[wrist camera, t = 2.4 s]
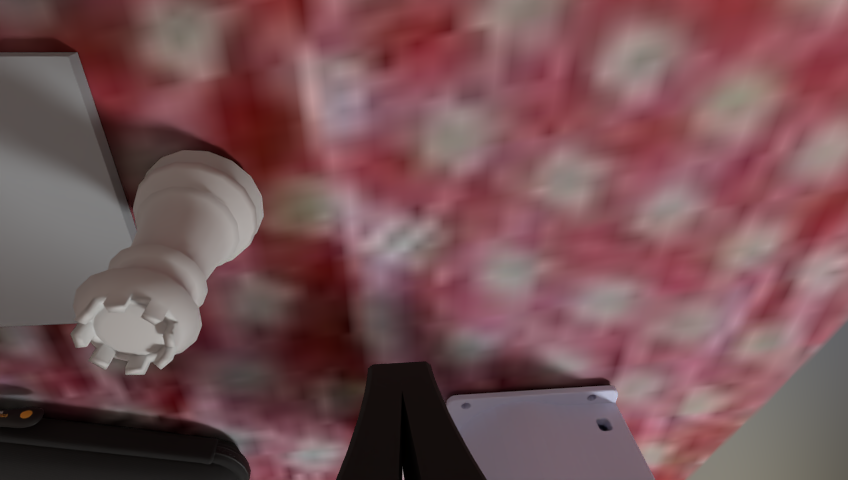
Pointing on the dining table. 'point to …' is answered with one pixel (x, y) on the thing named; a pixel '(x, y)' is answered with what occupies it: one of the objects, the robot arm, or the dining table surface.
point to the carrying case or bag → (108, 452)
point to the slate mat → (53, 189)
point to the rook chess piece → (167, 261)
